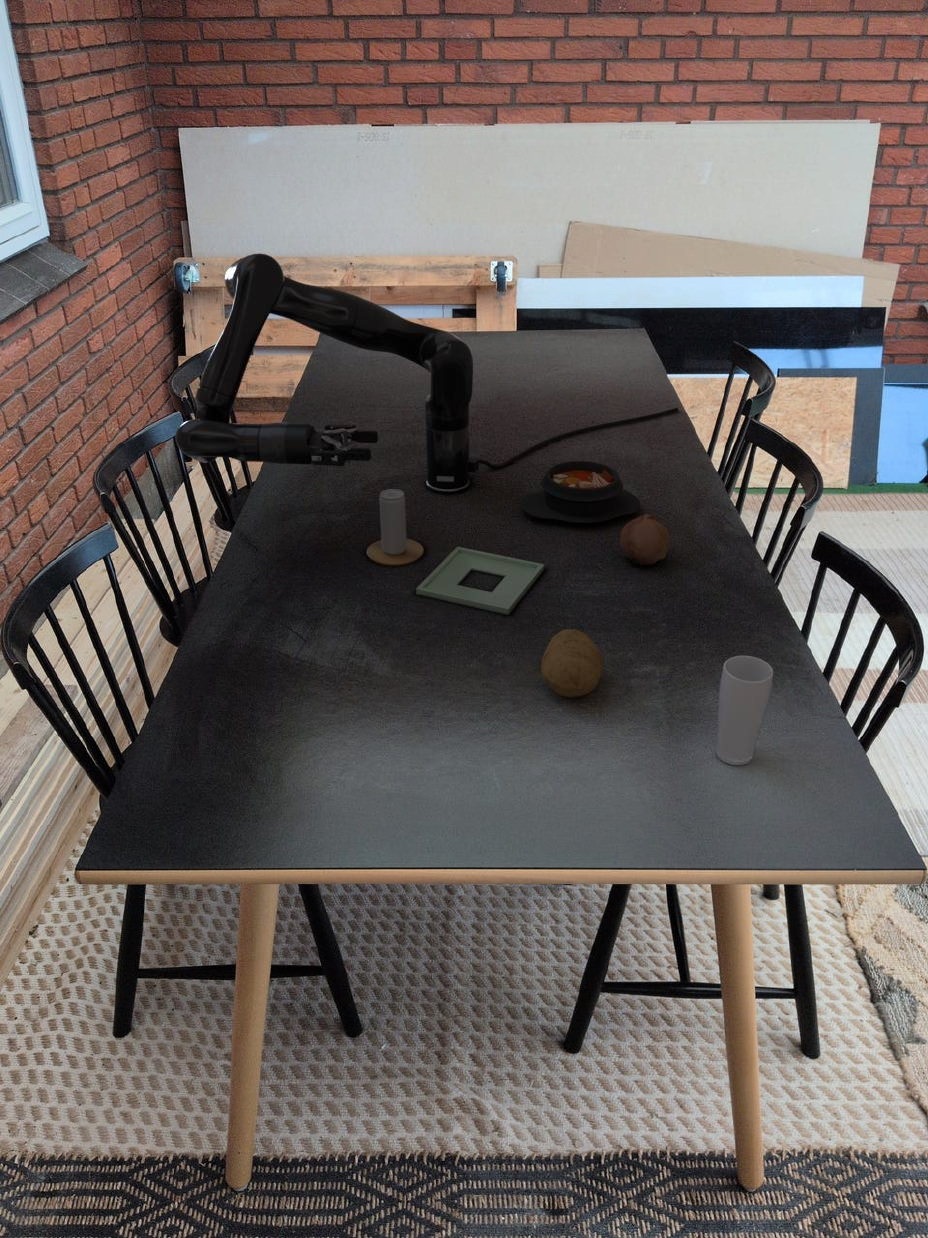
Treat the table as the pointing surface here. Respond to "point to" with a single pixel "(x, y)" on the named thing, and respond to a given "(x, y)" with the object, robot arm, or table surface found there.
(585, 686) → the potato
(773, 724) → the table surface
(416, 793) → the table surface
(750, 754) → the drinking glass
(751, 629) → the table surface
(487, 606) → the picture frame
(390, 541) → the beverage can
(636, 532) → the onion
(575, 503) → the casserole
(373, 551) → the coaster
